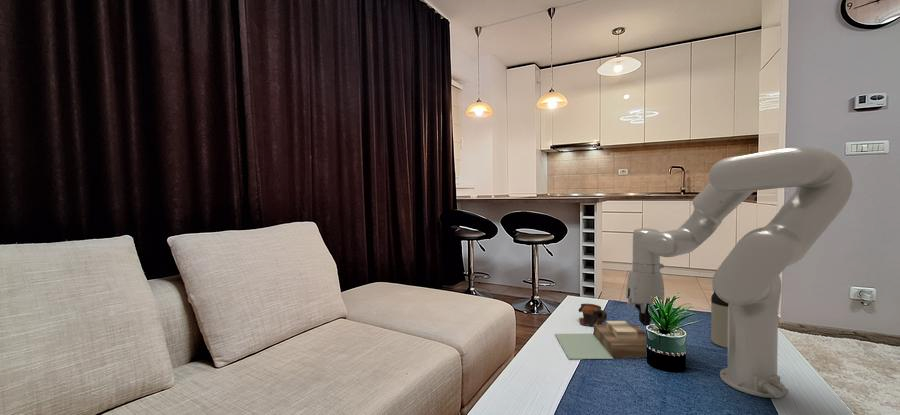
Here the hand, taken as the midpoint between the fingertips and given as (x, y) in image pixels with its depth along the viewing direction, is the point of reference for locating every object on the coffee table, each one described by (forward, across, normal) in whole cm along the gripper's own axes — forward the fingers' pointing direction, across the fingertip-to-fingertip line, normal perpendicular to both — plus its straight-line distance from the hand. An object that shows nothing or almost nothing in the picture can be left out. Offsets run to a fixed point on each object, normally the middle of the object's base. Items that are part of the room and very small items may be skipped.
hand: (644, 323), depth 112 cm
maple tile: (+3, +8, +1) cm, 8 cm away
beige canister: (+7, -26, 0) cm, 26 cm away
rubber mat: (+7, +20, +1) cm, 21 cm away
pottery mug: (+8, +10, -19) cm, 23 cm away
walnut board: (+7, +6, +1) cm, 10 cm away
